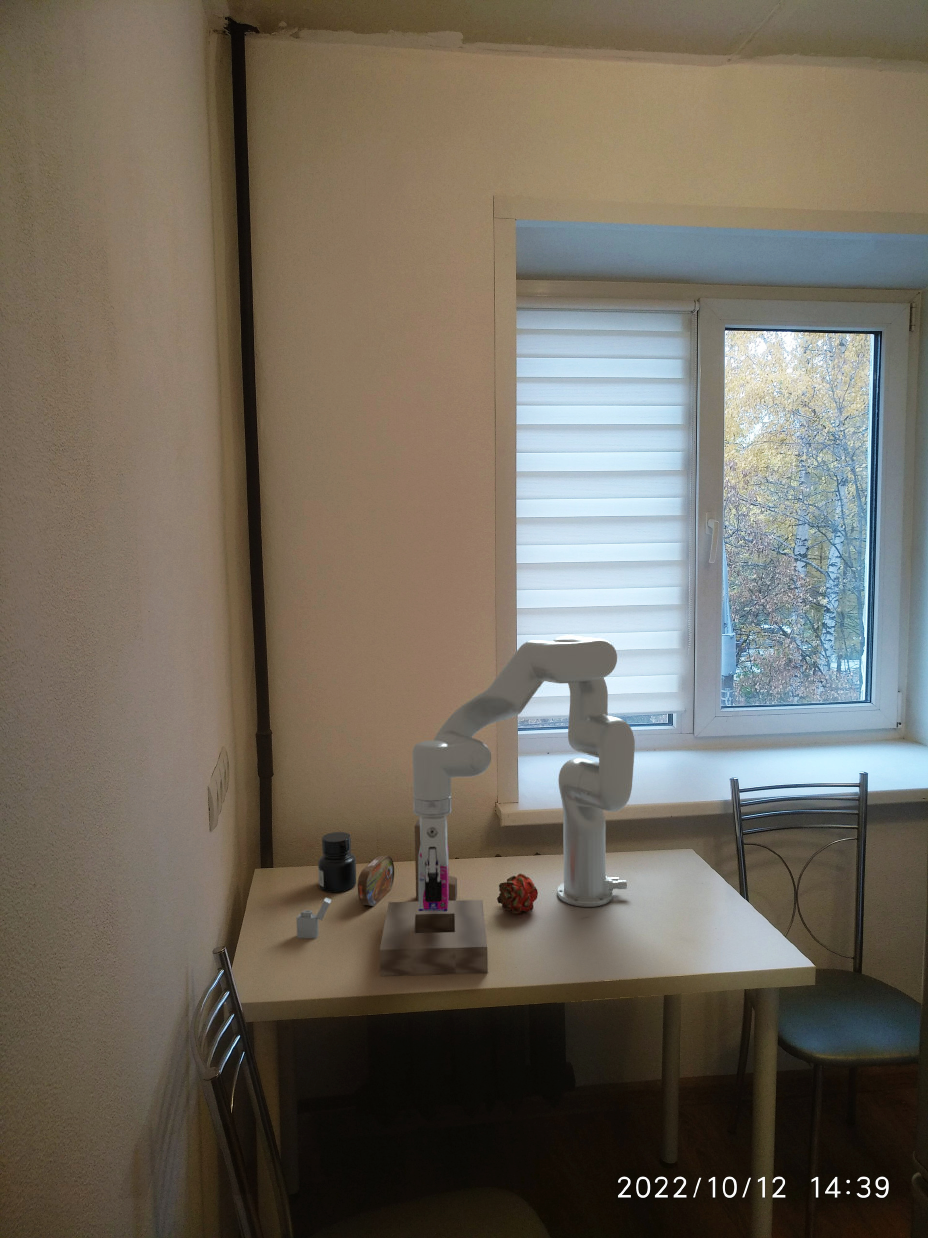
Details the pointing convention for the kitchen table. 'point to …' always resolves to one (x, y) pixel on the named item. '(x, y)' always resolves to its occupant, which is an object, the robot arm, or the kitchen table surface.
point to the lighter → (310, 921)
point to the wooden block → (417, 847)
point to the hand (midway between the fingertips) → (433, 893)
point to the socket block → (434, 939)
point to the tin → (375, 880)
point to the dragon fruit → (517, 894)
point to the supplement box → (421, 887)
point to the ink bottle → (337, 863)
